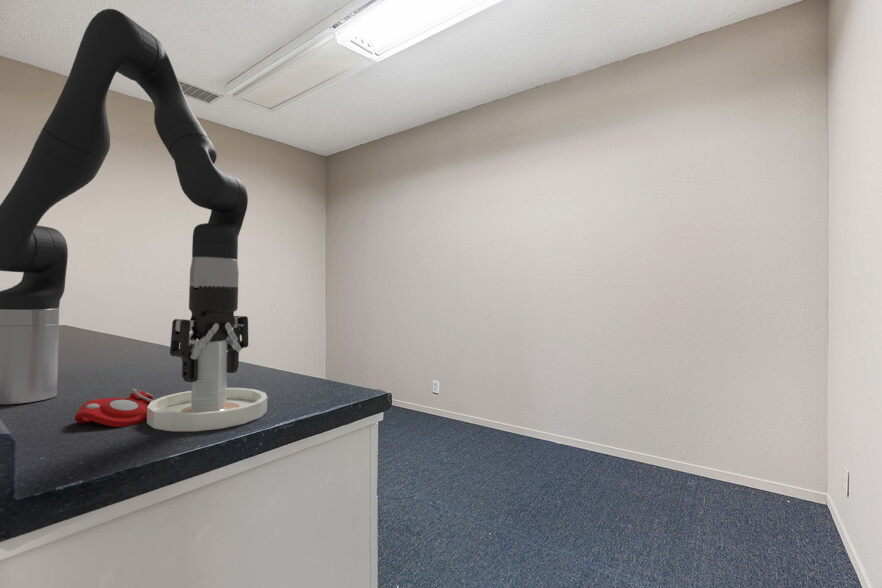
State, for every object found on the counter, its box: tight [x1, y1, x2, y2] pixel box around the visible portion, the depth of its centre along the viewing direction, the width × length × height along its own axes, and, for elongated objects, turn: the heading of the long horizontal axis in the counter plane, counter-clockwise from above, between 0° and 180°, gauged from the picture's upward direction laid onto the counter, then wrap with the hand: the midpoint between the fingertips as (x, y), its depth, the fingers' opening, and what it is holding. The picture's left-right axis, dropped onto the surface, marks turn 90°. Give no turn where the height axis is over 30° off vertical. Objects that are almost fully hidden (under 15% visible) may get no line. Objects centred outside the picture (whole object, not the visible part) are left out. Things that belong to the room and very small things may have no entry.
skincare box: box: [191, 339, 228, 413], centre depth 73 cm, size 6×4×12 cm
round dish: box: [146, 387, 268, 432], centre depth 73 cm, size 18×18×3 cm
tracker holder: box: [74, 388, 155, 428], centre depth 70 cm, size 12×4×10 cm
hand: (211, 376), depth 73 cm, fingers open, 8 cm apart
